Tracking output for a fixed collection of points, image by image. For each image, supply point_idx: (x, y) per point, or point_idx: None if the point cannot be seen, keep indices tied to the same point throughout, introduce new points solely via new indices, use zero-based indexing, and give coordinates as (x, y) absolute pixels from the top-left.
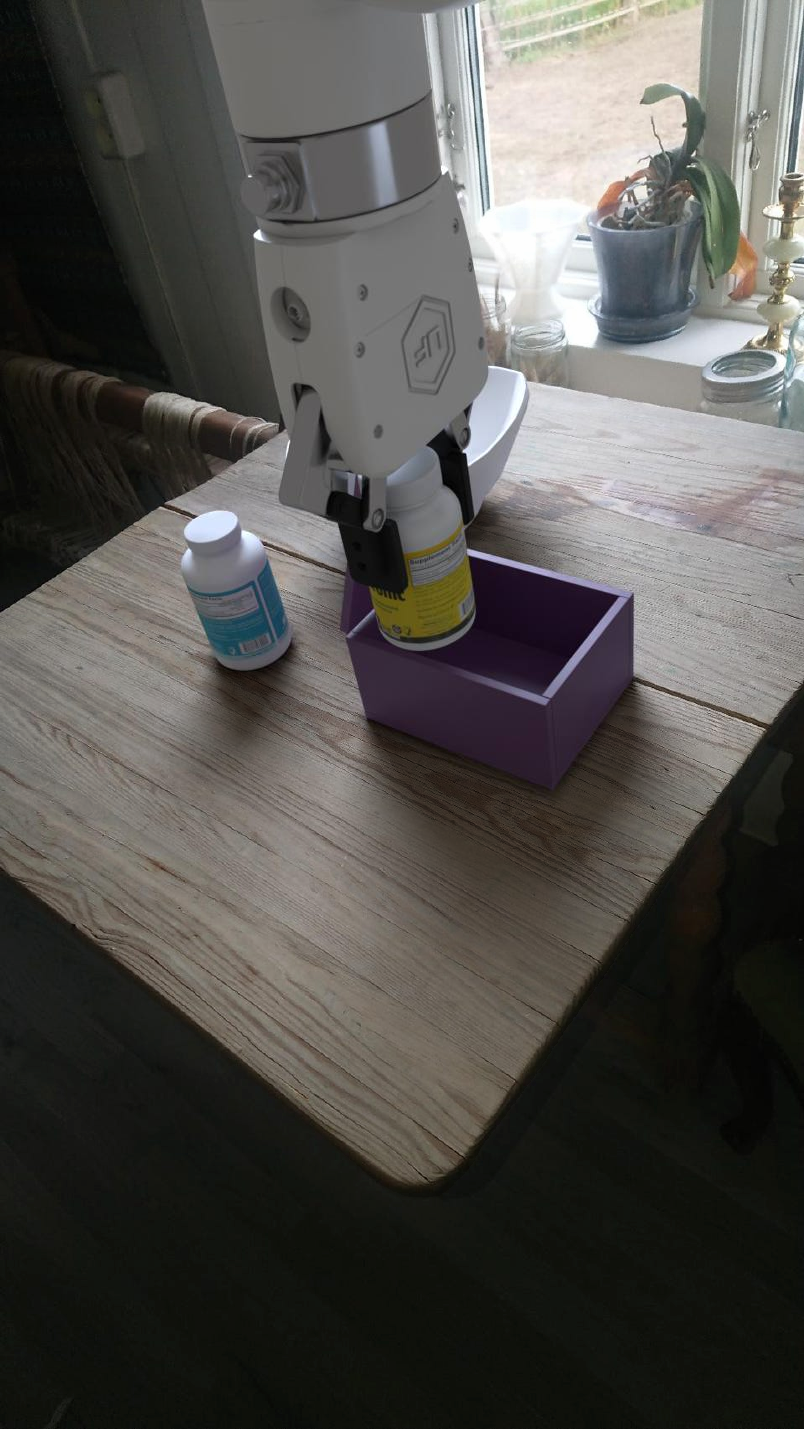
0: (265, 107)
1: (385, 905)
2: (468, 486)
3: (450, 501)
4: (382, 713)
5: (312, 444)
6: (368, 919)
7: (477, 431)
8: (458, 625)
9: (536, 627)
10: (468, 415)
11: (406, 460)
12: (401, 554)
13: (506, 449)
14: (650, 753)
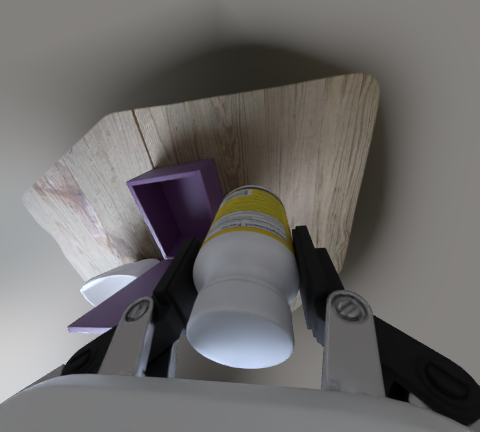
0: None
1: (289, 172)
2: (175, 260)
3: (212, 259)
4: None
5: None
6: (297, 173)
7: (115, 283)
8: (254, 188)
9: (164, 209)
10: (112, 296)
11: (362, 419)
12: (304, 250)
13: (113, 270)
14: (175, 139)
